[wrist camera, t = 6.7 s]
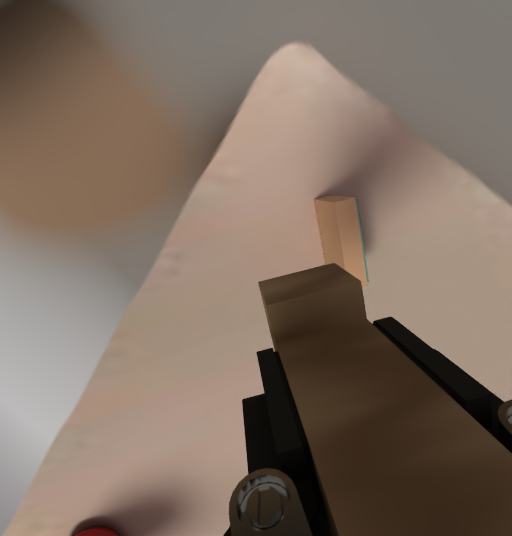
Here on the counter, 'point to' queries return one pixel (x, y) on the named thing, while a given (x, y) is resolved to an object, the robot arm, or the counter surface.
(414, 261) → the counter surface
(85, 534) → the liquor
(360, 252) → the tile
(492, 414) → the robot arm
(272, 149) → the counter surface
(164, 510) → the counter surface
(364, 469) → the tan stepped block
